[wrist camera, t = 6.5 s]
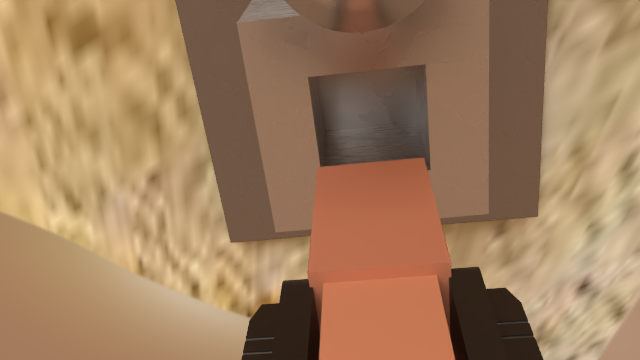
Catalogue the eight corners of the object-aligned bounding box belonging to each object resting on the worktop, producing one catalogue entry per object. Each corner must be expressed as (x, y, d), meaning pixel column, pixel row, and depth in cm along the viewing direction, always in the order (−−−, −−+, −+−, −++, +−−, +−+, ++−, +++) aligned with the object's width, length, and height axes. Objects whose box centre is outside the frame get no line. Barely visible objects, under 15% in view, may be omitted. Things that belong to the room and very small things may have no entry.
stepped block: (317, 166, 17) (291, 429, 9) (424, 157, 17) (491, 419, 9) (329, 254, 19) (316, 547, 11) (428, 246, 18) (489, 542, 10)
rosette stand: (148, -148, 25) (-152, -162, 10) (549, -207, 23) (915, -328, 8) (234, 232, 33) (142, 537, 18) (532, 206, 32) (699, 514, 17)
